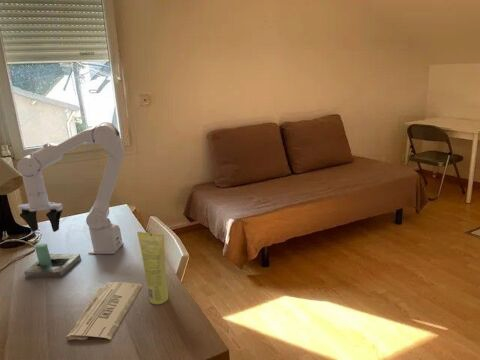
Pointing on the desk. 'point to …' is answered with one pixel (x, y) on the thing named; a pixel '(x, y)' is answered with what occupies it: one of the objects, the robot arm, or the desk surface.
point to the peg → (43, 255)
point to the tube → (154, 266)
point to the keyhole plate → (54, 272)
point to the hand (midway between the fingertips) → (45, 230)
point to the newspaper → (105, 311)
